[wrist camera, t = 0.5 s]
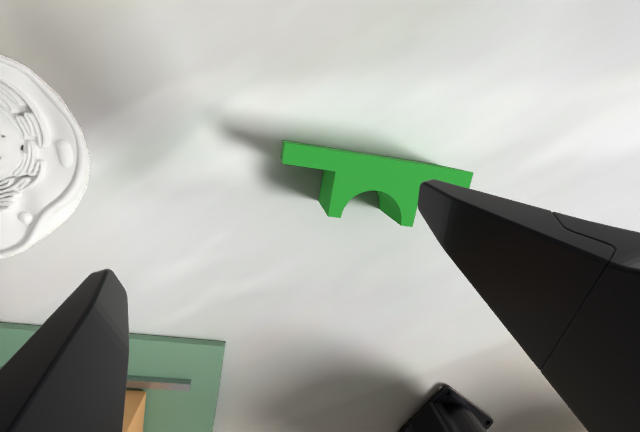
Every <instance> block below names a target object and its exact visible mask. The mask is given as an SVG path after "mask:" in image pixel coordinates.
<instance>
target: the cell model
mask: <svg viewBox="0 0 640 432" xmlns="http://www.w3.org/2000/svg"><path fill="white" fill-rule="evenodd" d="M89 175H90V154H89V150H88V147H87V145H86V142H85V140H84V136H83V133H82V130H81V128H80V126H79V124H78V123H77V121H76V119H75V118H74V116H73V115H72V114H71V112H70V111H69V109H68V107H67V106H66V104H65V102H64V101H63V99H62V98H61V97H60V96H59V95H58V94H57V93H56V92H55V91H54V90H53V89H52V88H51V87H50V86H48V85H47V84H46V83H45V82H44V81H43V80H42V79H41V78H40V77H39V76H38V75H37V74H35V73H34V72H33V71H32V70H31V69H29V68H28V67H26V66H25V65H23V64H21V63H19V62H17V61H15V60H13V59H10V58H8V57H6V56H3V55H1V54H0V259H1V258H6V257H10V256H13V255H16V254H19V253H21V252H23V251H25V250H26V249H28V248H29V247H30V246H32V245H33V244H35V243H37V242H38V241H40V240H41V239H43V238H44V237H46V236H47V235H48V234H50V233H51V232H52V231H53V230H55V229H56V228H57V227H58V226H59V225H61V224H62V223H63V222H64V221H65V220H66V219H67V218H69V217H70V215H71V214H72V213H73V212H74V210H75V209H76V207H77V205H78V203H79V201H80V200H81V198H82V197H83V195H84V193H85V191H86V188H87V185H88V181H89Z"/></svg>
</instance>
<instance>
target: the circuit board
mask: <svg viewBox="0 0 640 432" xmlns="http://www.w3.org/2000/svg"><path fill="white" fill-rule="evenodd" d="M40 327H41V326H38V325H26V324H15V323H3V322H0V367H3V366H4V365H5V364H6V363H7V362H8V360H9V359H10V358H11V357H12V356H13V355H14V354H15V353H16V352H17V351H18V350H19V349H20V348H21V347H22V346H23V345H24V344H25V343H26V342H27V340H28V339H29V338H30V337H31V336H32V335H33V334H34V333H35V332H36V331H37V330H38V329H39V328H40ZM224 349H225V342H223V341H211V340H200V339H188V338H176V337H165V336H153V335H142V334H130V333H129V362H128V373H127V375H132V376H147V377H162V378H178V379H192V381H191V387H190V391H176V390H160V389H143V388H126V390H134V391H146V401H145V412H144V424H143V432H212V430H213V424H214V417H215V410H216V403H217V396H218V390H219V383H220V376H221V369H222V362H223V355H224Z"/></svg>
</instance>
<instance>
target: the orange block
mask: <svg viewBox="0 0 640 432" xmlns="http://www.w3.org/2000/svg"><path fill="white" fill-rule="evenodd" d="M145 401H146V391H134V390H126V396H125V407H124V418H123V429H122V432H143V424H144V412H145Z"/></svg>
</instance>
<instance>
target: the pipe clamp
mask: <svg viewBox="0 0 640 432" xmlns="http://www.w3.org/2000/svg"><path fill="white" fill-rule="evenodd" d="M281 160H282V164H288V165H295V166H302V167H309V168H316V169H322V170H323V175H322V181H321V188H320V194H319V200H318V201H319V203H320V204H321V206H322V207H323V209H324V211H325V212H326V214H327V215H328V216H329V217H337V218H341V214H342V211H343V209H344V207H345V206H346V204H347V203H348V202H349V201H350V200H351V199H352V198H353V197H354V196H356V195H358V194H360V193H362V192H365V191H372V190H373V191H376V192H377V194H378V197H379V209H380V210H381V211H383V212H384V213H385V214H387V215H388V216H389V217H391V218H392V219H393V220H394V221H396V222H397V223H398V224H400V225H402V226H410V227H412V226H413V222H414V218H415V214H416V209H417V205H418V196H419V187H420V184H421V183H422V182H424V181H427V180H431V179H436V180H439V181H443V182H447V183H450V184H454V185H458V186H461V187H465V188H469V187H470V183H471V179H472V176H473V172H468V171H464V170H459V169H455V168H450V167H446V166H441V165H436V164H429V163H423V162H417V161H411V160H404V159H398V158H392V157H385V156H379V155H373V154H367V153H360V152H354V151H348V150H342V149H335V148H329V147H323V146H316V145H310V144H304V143H298V142H291V141H285V140H283V144H282V152H281Z"/></svg>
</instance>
